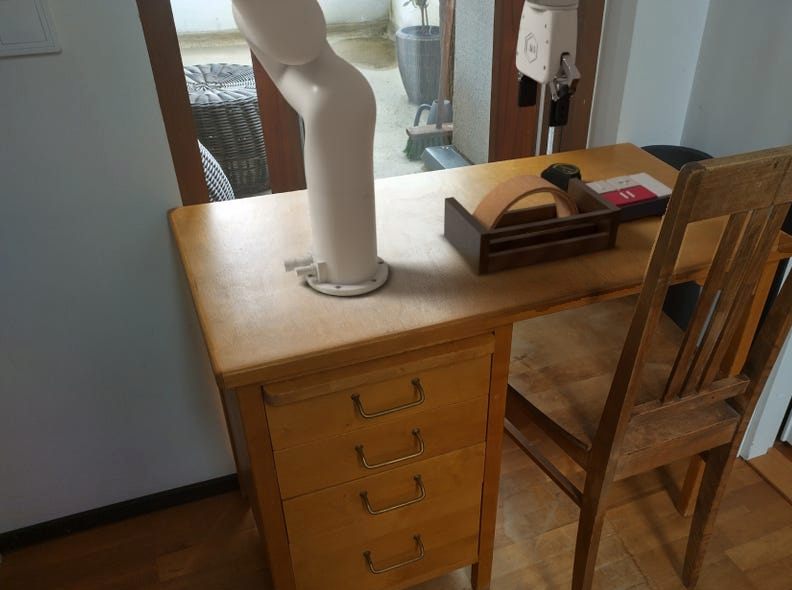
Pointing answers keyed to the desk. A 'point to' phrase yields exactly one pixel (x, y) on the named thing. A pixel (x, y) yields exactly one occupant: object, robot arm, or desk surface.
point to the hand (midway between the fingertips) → (541, 115)
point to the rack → (516, 251)
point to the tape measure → (561, 174)
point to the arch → (514, 191)
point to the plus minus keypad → (634, 195)
